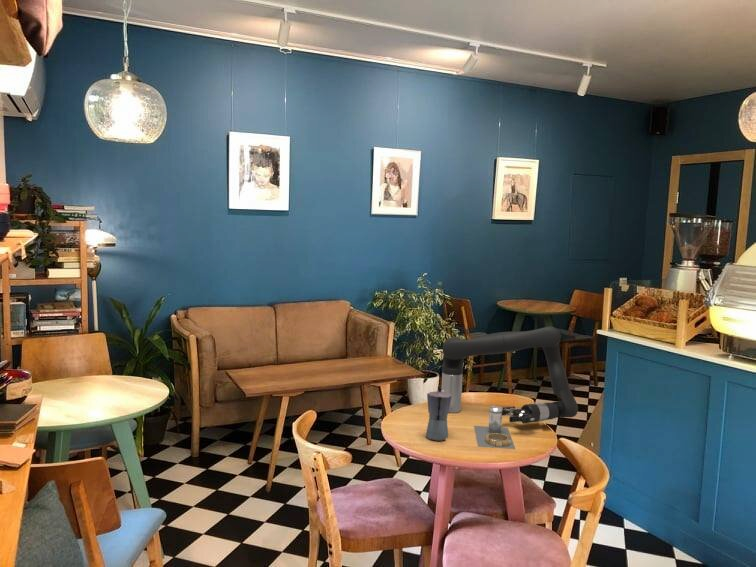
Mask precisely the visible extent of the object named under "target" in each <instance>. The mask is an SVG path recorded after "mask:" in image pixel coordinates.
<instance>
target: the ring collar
mask: <svg viewBox="0 0 756 567" xmlns="http://www.w3.org/2000/svg"><path fill="white" fill-rule="evenodd" d="M511 438H512V437H511ZM511 438H510V437H509V436H507V435H505V434H501V433H489V434H487V435H485V442H486V443H487V444H489V445H492V446H496V447H506V446H509V445H510V444H511ZM493 439H500V440H503V441H499V440H493Z"/></svg>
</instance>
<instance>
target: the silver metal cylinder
mask: <svg viewBox="0 0 756 567" xmlns="http://www.w3.org/2000/svg"><path fill="white" fill-rule="evenodd" d="M502 410H503V406H499V405H490V406H489V409H488V412H489V413H488V427H489V429H488V431H489V432H490V433H501V427H502V422H503V420H502V419H503V415H502Z"/></svg>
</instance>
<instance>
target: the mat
mask: <svg viewBox="0 0 756 567" xmlns="http://www.w3.org/2000/svg"><path fill="white" fill-rule="evenodd" d="M473 429H474V433H475V439H476V444H477V447H478V448H492V449H503V450H504V449H505V450H506V449H507V450H508V449H509V450H516V446H515V444H514V440H513V438H512V436H511V432H510V430H509V427H503V426H501V434H505V435H507V436H509V437H510V438H511V444H510V445H509V446H506V447H496V446H492V445H489V444H487V443H486V442H485V435H487V434H489V433H490V432H489V431H488V429H489V426H486V425H485V426H483V425H473ZM493 440H499V441H503V440H500V439H493Z"/></svg>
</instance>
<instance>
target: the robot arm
mask: <svg viewBox="0 0 756 567" xmlns="http://www.w3.org/2000/svg"><path fill="white" fill-rule="evenodd" d="M561 336H562V335H561V333H560V331H559V329H557V328H556V327H554V326H548V325H547V326H544V327H541V328H536V329H531V330H525V331H523V330H522V331H502V332H501V331H500V332H494V333H489V334H485V335H482V336H480V337H476V338H473V339H472V338H471V339H461V338H459V337H456V336H451V337H448V338H447V339H446V340H445V341H444V343H443V346H442V353H443V354H442V355H443V358H442V369H441V372H442V373H441V387H440V388H442V390H441V392H445V393H448V394H450V395H451V396H452V397H451V402H450V408H449V413H454V414H455V413H459V412H461V410H462V394H463V393H462V392H463V372H464V359H465V358H469V357H472V356H486V355H500V354H508V353H512V352H517V351H521V350H525V349H530V348H542V350H543V353H544V355H545V359H546V363H547V368H548V373H549V379H550V382H551V388H552V392H553V395H554V396H557V397H559V399H560V400H558V401H552V402H536V403H526V404H523V405H522V406H521V408H519V407H517V408H516V406H504V407H503V406H502V416H509V418H508V419H509V423H517V422H518V423H522V424H524V425H525V424H529V423H530V424H531V423H536V422H537V423H538V422H543V421H546V420H547V421H548V420H554V419H556V418H558V419H559V418H574V417H576V416H577V415H578V412H579V411H578V410H579V406H578V403H577V401H576V398H575V396H574V394H573V392H572V391H571V390H570V385H569V381H568V376H567V373H566V370H565V367H564V364H563V360H562V357H561V350H560V342H561V338H562V337H561Z"/></svg>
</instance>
